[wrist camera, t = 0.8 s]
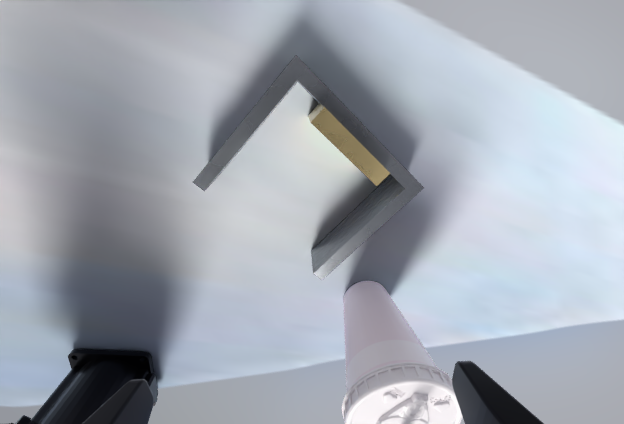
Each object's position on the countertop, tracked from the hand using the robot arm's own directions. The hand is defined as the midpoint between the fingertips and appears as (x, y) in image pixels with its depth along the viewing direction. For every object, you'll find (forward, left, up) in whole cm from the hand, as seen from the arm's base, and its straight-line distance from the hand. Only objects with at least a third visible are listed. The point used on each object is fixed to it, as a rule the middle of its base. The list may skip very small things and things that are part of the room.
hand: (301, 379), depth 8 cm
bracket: (0, +2, -13) cm, 13 cm away
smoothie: (+6, -8, -14) cm, 17 cm away
